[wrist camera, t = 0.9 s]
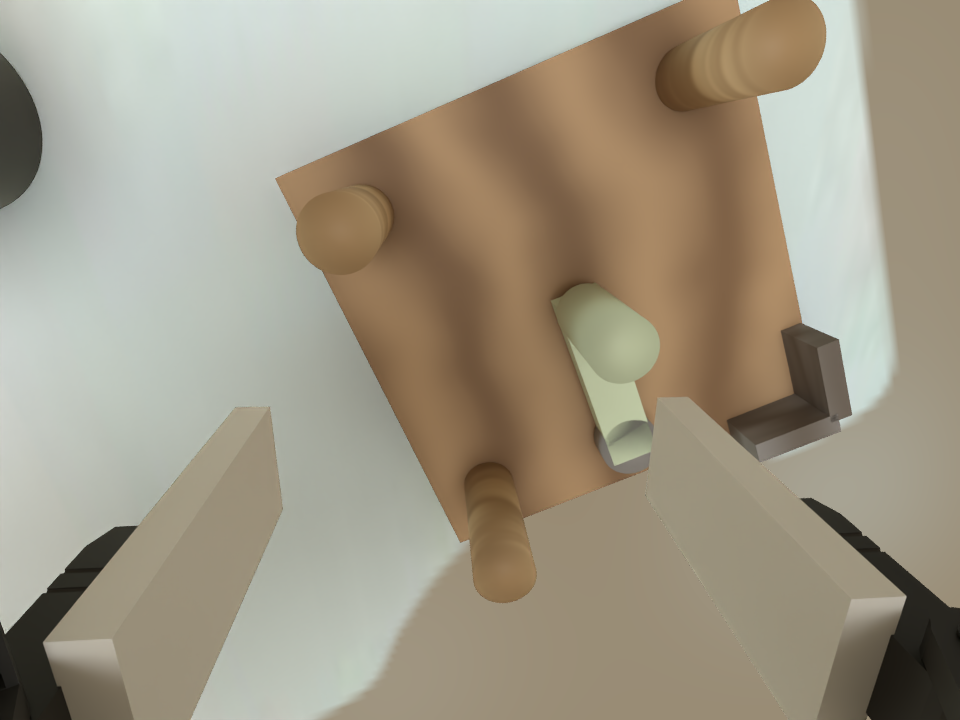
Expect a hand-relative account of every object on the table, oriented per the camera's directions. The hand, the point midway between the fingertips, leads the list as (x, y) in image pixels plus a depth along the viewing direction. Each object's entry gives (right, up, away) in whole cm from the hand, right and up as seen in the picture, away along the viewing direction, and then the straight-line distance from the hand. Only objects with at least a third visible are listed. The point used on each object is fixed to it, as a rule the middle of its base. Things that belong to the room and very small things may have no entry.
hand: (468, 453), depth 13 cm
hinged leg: (+7, +2, +16) cm, 18 cm away
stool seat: (+5, +6, +17) cm, 19 cm away
